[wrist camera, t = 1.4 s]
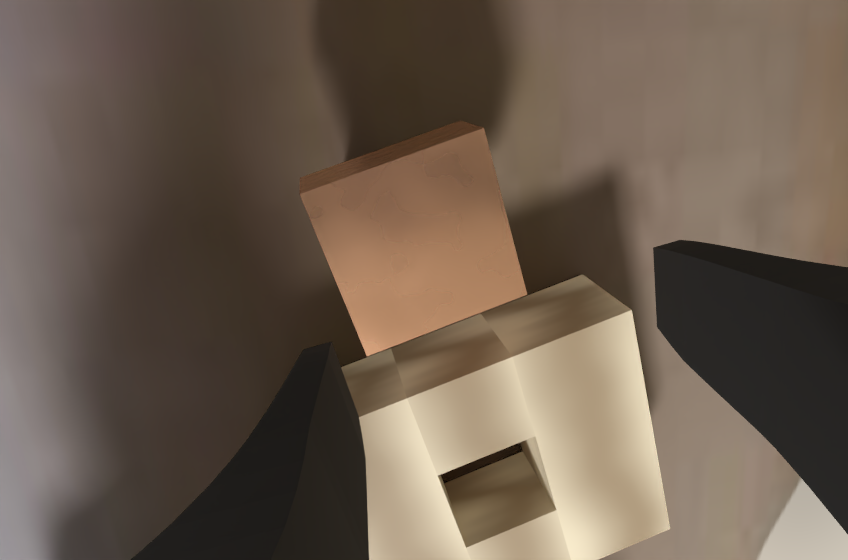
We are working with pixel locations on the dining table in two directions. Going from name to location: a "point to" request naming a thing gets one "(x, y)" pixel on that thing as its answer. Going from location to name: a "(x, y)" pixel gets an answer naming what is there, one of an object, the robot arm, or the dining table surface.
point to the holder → (512, 434)
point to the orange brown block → (415, 234)
